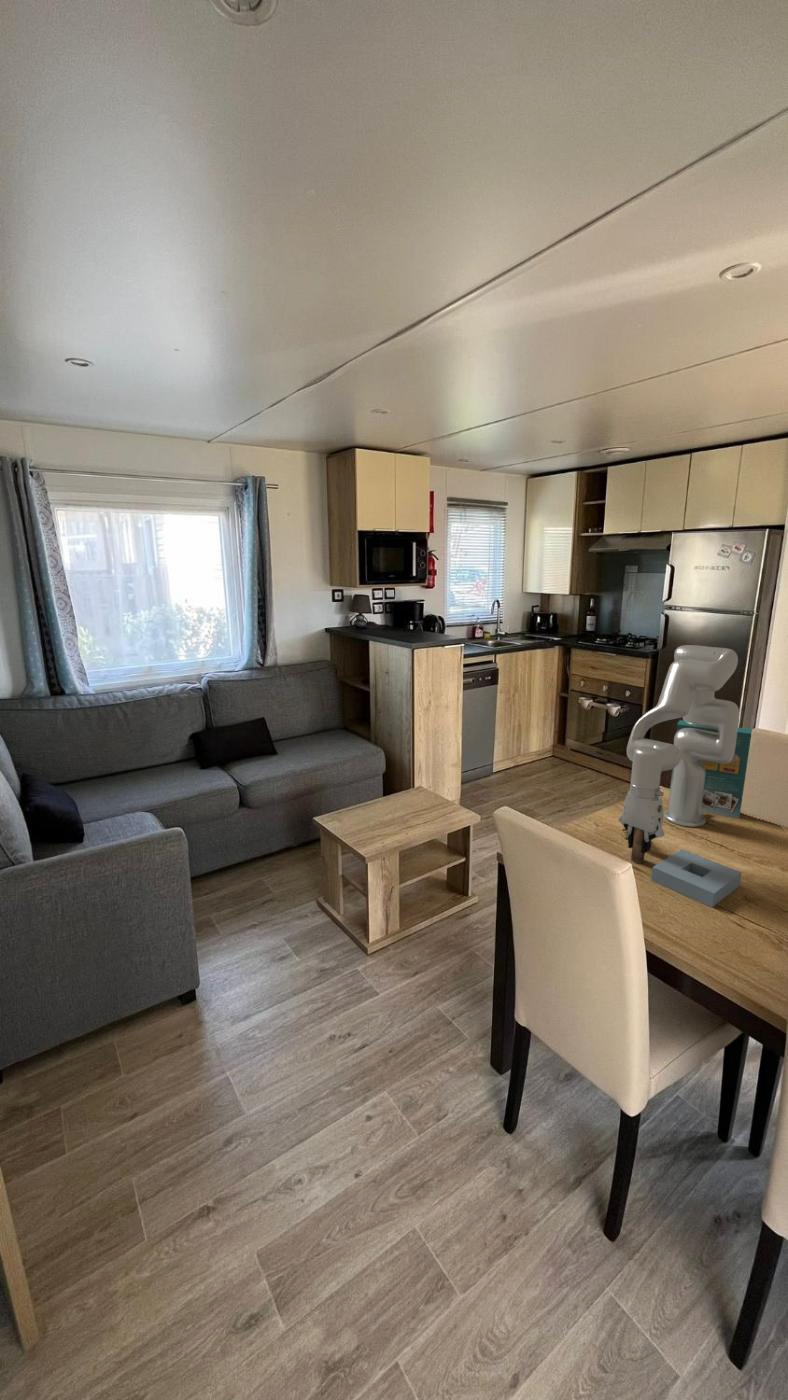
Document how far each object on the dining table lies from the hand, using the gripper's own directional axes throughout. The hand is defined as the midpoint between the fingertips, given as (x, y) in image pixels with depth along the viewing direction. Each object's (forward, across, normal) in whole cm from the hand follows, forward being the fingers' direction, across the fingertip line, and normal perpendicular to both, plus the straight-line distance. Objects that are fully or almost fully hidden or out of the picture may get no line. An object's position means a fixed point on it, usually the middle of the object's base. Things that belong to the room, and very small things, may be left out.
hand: (638, 848), depth 163 cm
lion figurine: (+4, +6, -10) cm, 12 cm away
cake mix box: (+4, +5, -52) cm, 52 cm away
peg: (+4, 0, 0) cm, 4 cm away
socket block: (+4, -16, -1) cm, 16 cm away
